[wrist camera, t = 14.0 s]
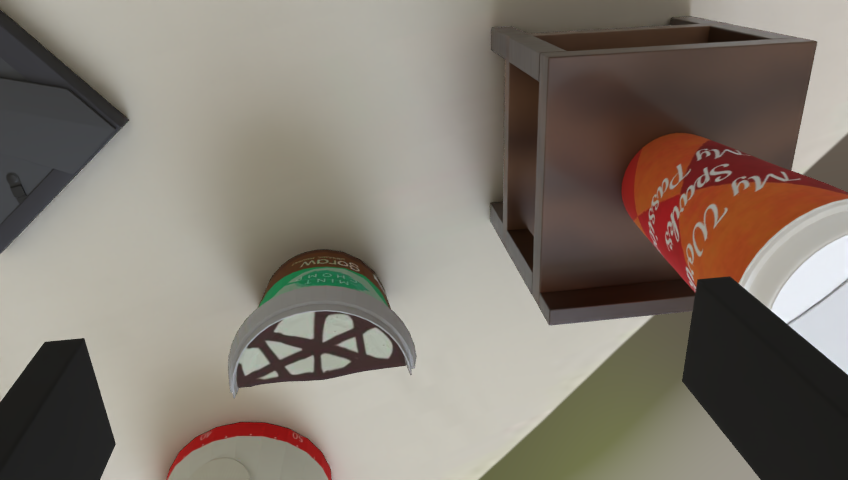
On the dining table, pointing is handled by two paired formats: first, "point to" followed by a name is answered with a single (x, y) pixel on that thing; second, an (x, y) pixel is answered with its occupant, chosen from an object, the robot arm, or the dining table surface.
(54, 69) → the picture frame
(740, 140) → the rack
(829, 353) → the paper cup
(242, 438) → the kitchen timer
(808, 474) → the robot arm
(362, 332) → the food container
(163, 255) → the dining table surface
